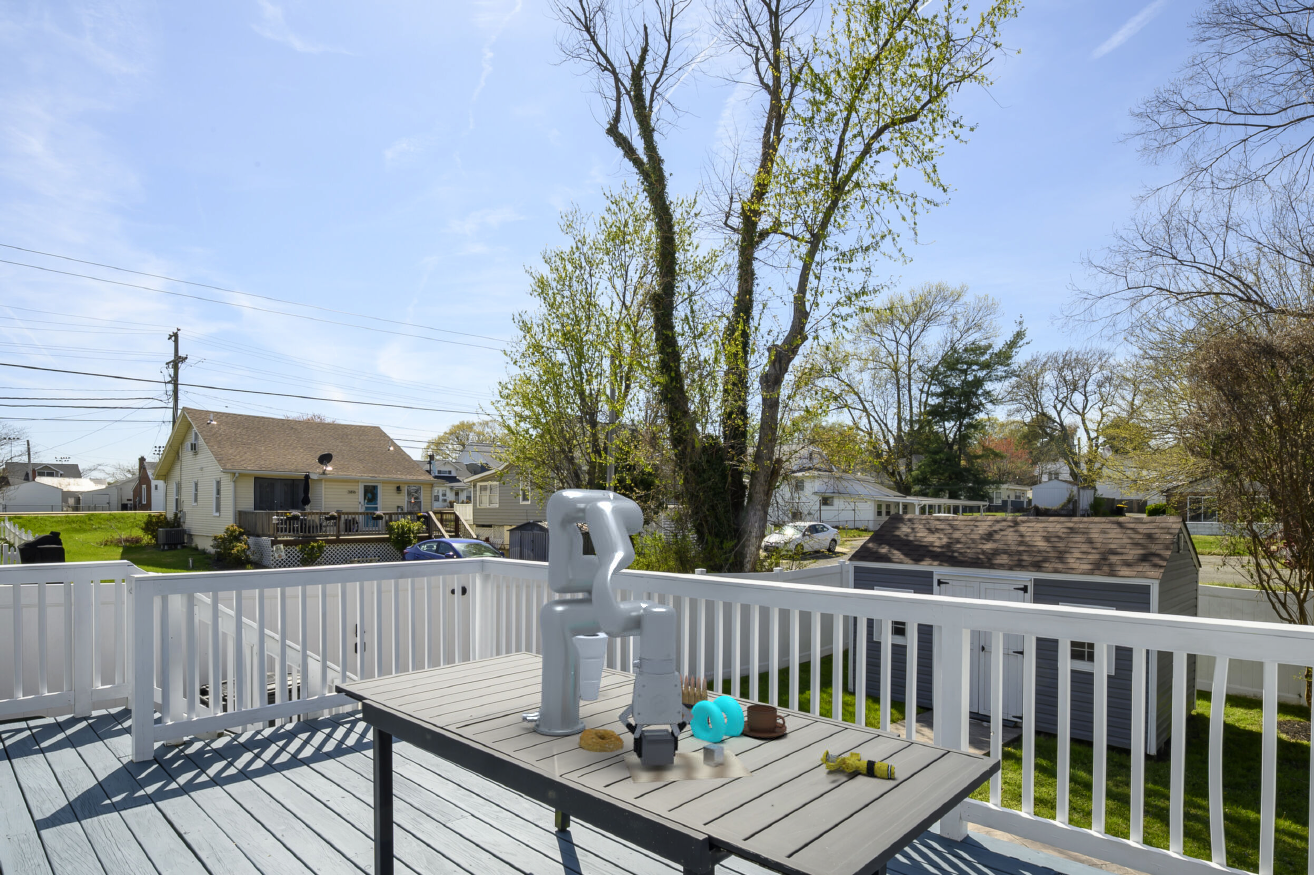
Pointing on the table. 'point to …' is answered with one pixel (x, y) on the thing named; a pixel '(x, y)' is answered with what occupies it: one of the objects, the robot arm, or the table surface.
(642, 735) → the dark grey box
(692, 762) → the beige wavy cloth
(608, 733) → the bagel
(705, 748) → the silver metal cube
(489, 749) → the table surface
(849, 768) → the sprinkler
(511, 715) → the table surface
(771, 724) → the cup and saucer
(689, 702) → the ammunition clip
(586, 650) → the cup
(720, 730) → the donuts
